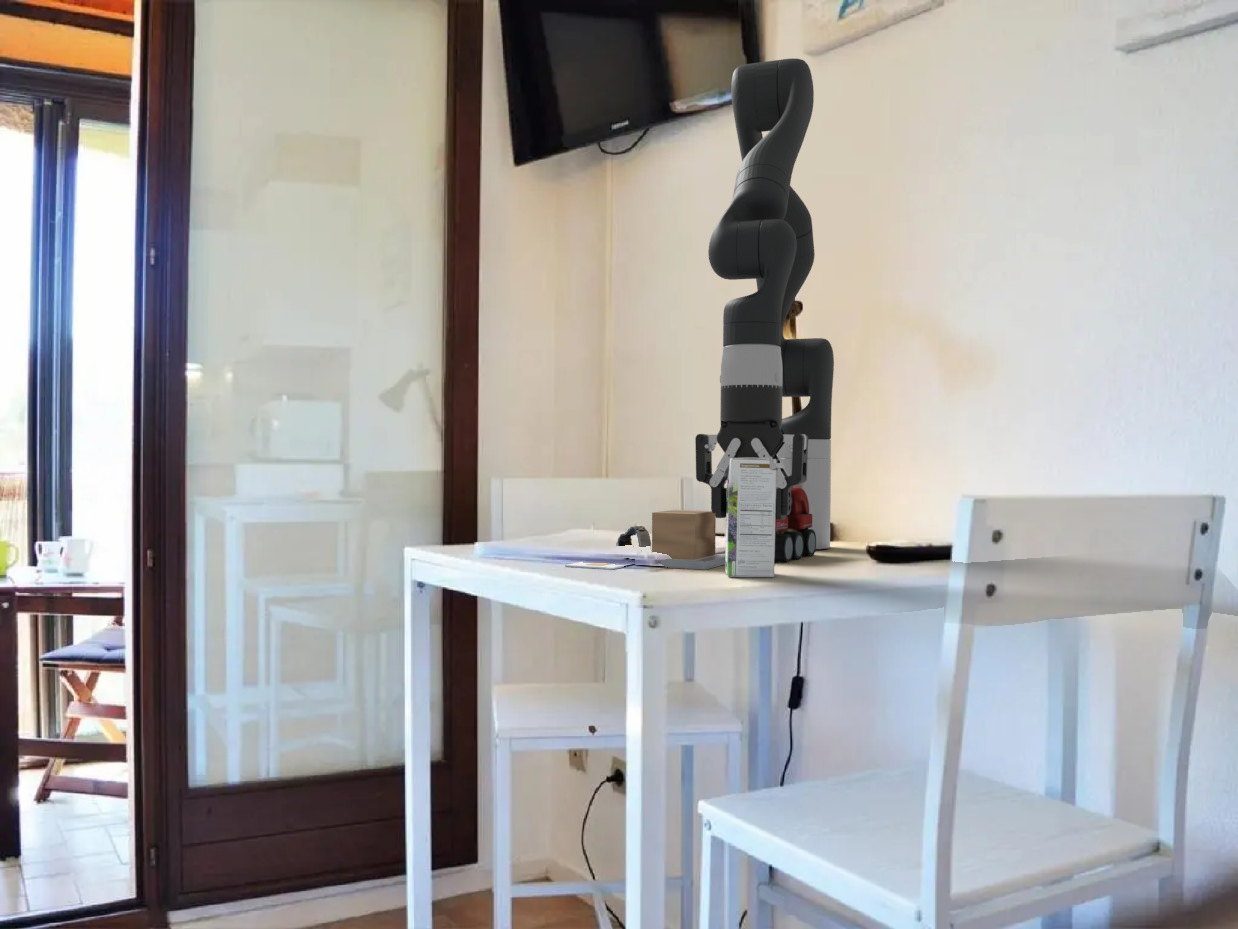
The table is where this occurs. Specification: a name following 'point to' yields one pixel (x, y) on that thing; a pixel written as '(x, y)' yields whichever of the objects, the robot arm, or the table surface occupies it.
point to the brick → (684, 533)
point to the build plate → (695, 562)
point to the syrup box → (750, 518)
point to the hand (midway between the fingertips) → (750, 518)
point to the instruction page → (595, 565)
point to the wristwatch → (641, 535)
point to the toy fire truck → (795, 530)
